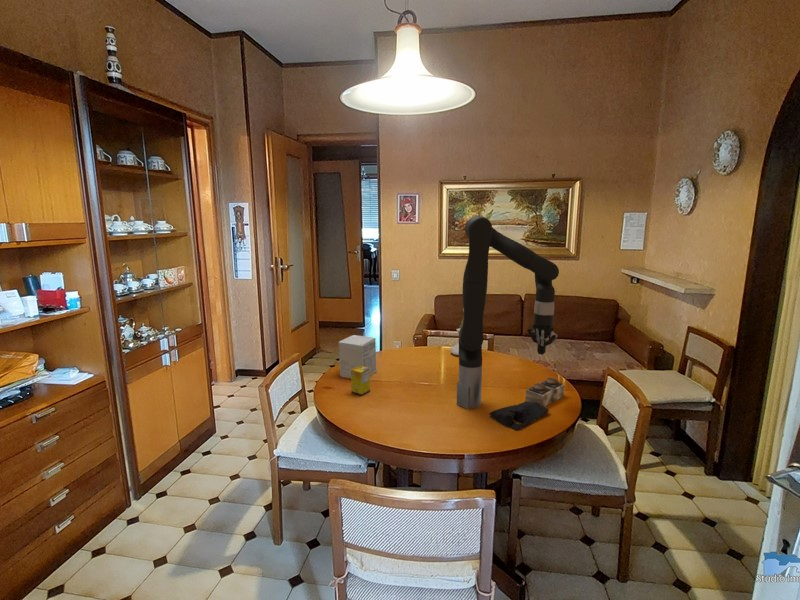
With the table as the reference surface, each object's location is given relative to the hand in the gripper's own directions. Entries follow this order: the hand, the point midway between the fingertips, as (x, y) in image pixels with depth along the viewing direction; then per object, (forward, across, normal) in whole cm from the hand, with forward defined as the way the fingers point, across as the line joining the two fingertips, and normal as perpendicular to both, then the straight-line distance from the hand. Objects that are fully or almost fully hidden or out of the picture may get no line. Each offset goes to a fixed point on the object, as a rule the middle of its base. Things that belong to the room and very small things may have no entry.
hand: (541, 353), depth 174 cm
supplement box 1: (+22, -74, -38) cm, 86 cm away
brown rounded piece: (+21, 0, 0) cm, 21 cm away
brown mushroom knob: (+21, 0, +9) cm, 23 cm away
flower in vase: (+21, -61, +21) cm, 68 cm away
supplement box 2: (+22, -56, -49) cm, 78 cm away
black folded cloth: (+22, +2, -16) cm, 27 cm away
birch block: (+21, 0, +5) cm, 21 cm away
